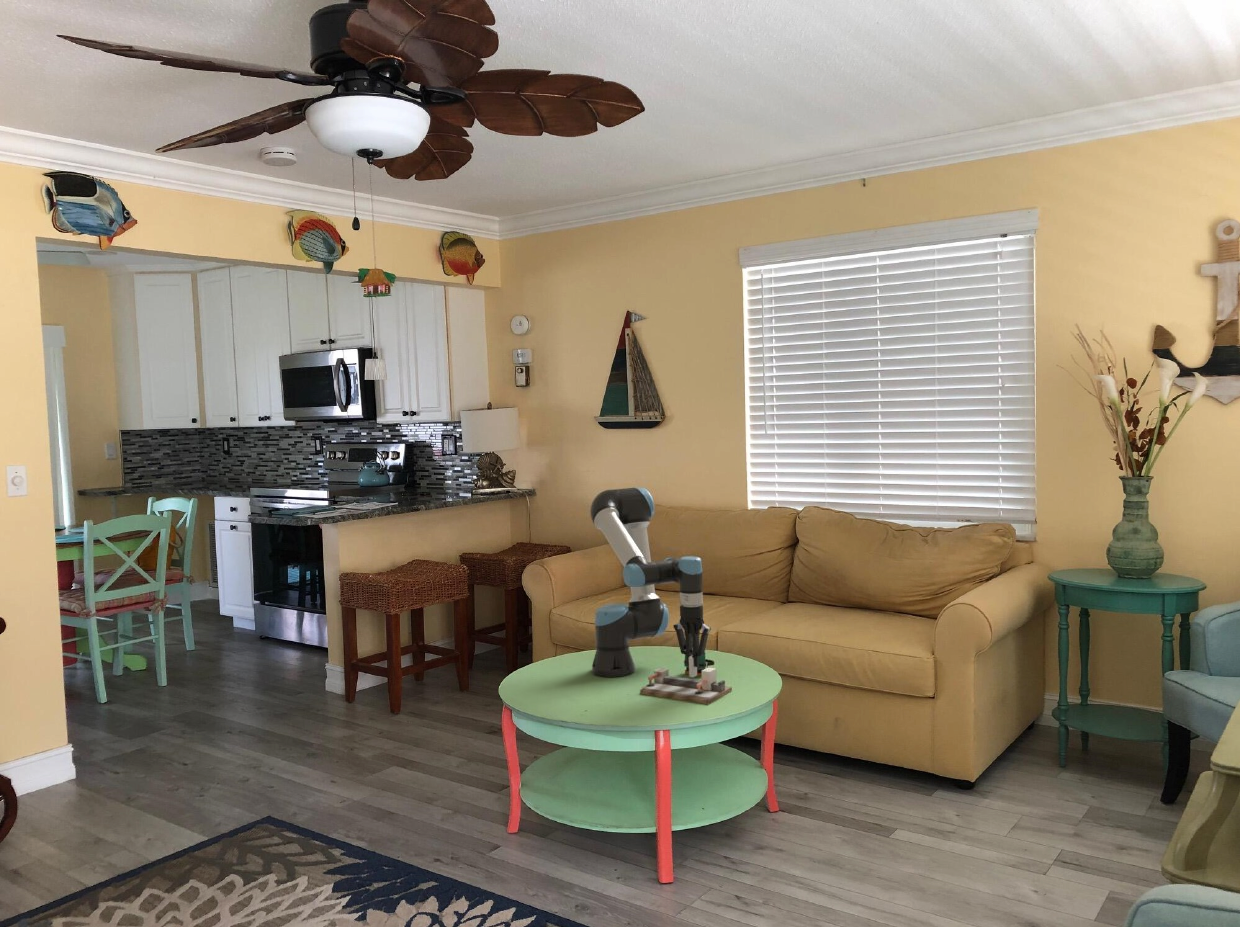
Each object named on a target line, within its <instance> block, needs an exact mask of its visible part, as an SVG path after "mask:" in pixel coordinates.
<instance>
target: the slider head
mask: <svg viewBox="0 0 1240 927" xmlns="http://www.w3.org/2000/svg"><path fill="white" fill-rule="evenodd" d="M701 681H702V682H700V683H698V684H697V687H698V692H700V687H701V686H702V689H703V690H710V691H711V684H712V683H713V682H715V683H718V682H717V668H715V667H714V668H713V667H706V668H705V669H704V670H702V676H701Z"/></svg>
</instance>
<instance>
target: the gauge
mask: <svg viewBox="0 0 1240 927" xmlns="http://www.w3.org/2000/svg"><path fill="white" fill-rule="evenodd" d="M669 674H670V672H669V668H663V667H659V668H658V669H655V670H653V675H651V676H648V677H647V680H648V684H646V685H645V686H643V687H642V688H641V689H639V690H640V692H639V693H640V694H641V695H645V696H646V695H647V696H655V697H658V698H664V699H665V698H666V699H673V700H679V701H686V702H691V703H696V704H697V703H698V704H705V705H710V704H712V703H714V702H715V701H717V700H719V699H720V698H722V697H724V696H725V695H727V694H729V693H731V692H732V691H733V689H732V688H733V687H732V686H726V680H723V679H722V680H720V681H718V682H717V683H715V682H713V683H712V684H711V691H710V690H703V689H702V686H701V687H700V692H698V687H697V684H698V683H700V682H702V679H701V680H700V679H693V678H686V677H679V676H672V675H669ZM652 680H653V681H652Z"/></svg>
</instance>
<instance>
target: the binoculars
mask: <svg viewBox="0 0 1240 927" xmlns="http://www.w3.org/2000/svg"><path fill="white" fill-rule="evenodd" d="M692 648H693V644H692ZM692 651H693V649H692ZM692 655H693V654H692ZM683 665H684V667H685V670H684V674H685V675H689V666H687V657H686V655H685V654H684V660H683ZM714 665H715V661H714V660H711V659H706V652H705V653H704V654H703V655H701V656H699V666H698V667H697V676H696V677H702V670H704V669H706V668H709V667H711V666H714Z"/></svg>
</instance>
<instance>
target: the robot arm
mask: <svg viewBox="0 0 1240 927" xmlns="http://www.w3.org/2000/svg"><path fill="white" fill-rule="evenodd" d="M653 499H654V498H653V496H652V495H651V493H650V491H648V489H646V488H643V487H630V488H629V487H627V488H626V487H625V488H617V489H605V490H604V491H601V492H600V493H598V494H597V495H596V496H595V497H594V498H593V500H592V503H591V504H590V511H589V512H590V515H589V516H590V518H591V522H592V523H593V525H594V526H595V528H596V529H597V530H600V531H601V532H602V534H603V536H604V537H605V539H606V540H607V542H608V544H609V546H610V547H611V549H612V550H613V552H614V553H615V555H616V556H617V558H618V560H619V562H620V563H621V565H622V566H623V569H622V578H623V582H624V584H625V585H626V586H627V587H629V588H630V594H631V597H630V598H629V600H628V601H627V603H628V605H627V604H626V603H623V602H618V603H608V604H606V605H602V606H600V607H599V608H598V609H597V610H596V611H595V616H594V625H595V626H594V627H595V647H596V648H595V654H594V658H593V661H592V665H591V673H592V674H593V675H594V676H598V677H605V678H617V677H625V676H629V675H632V674H633V673H634V672H635V671H636V670H635V666H636V665H635V662H634V659H633V656H632V653H631V651H630V642H629V641H631V640H639V639H646V638H654V637H657V636H662V635H663V634H664V633H665V632H666V630H667V628H668V625H669V622H670V620H669V619H670V615H669V614H670V613H669V610H668V608H667V607H668V606H667V605H666V603H664V602H662V601H661V597H660V596H659V595H658V594H656V590H655V585H662V584H663V585H664V584H670V583H671V584H672V583H677V584H678V586H679V587H678V588H679V603H680V605H679V616H680V618H679V622H677V623H676V624H673V629H674V630H675V633H676V636H677V641H678V645H679V650H680V653H681V654H682V655H684V656H685V655H686V657H687V666H689V674H688V676H689V678H695V677H698V676H697V667H698V666H699V656H701V655H703V654H704V653H705V654H706V647H707V640H708V638H709V637H708V636H709V634H710V631H711V630H712V628H711V626H707V625H706V624H705V621H704V605H703V604H704V596H703V588H704V587H703V565H702V564H703V563H702V558H700V557H698V556H689V555H687V556H682V557H680V558H675V557H667V558H665V559H664V560H658V561H652V560H651V551H650V544H649V535H648V529H647V528H648V527H649V525H650V524H651V518H653V517H654V515H655V503H654V500H653ZM700 634H701V635H700ZM692 644H693V647H692ZM692 650H693V651H692ZM692 654H693V655H692Z"/></svg>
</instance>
